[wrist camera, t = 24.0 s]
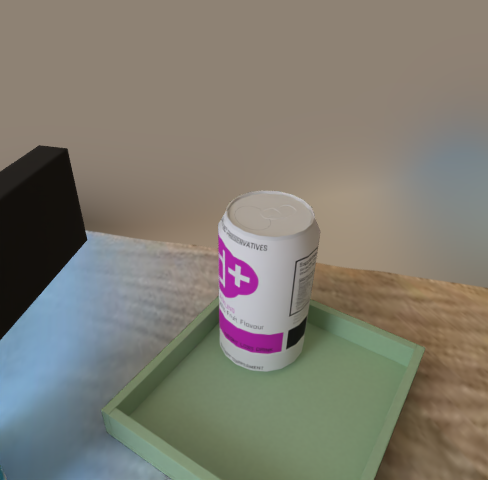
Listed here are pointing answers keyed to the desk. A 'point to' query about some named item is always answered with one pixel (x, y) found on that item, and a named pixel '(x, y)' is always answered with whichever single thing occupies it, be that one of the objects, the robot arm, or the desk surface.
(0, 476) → the pill bottle
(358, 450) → the tray
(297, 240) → the supplement can
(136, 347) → the desk surface
